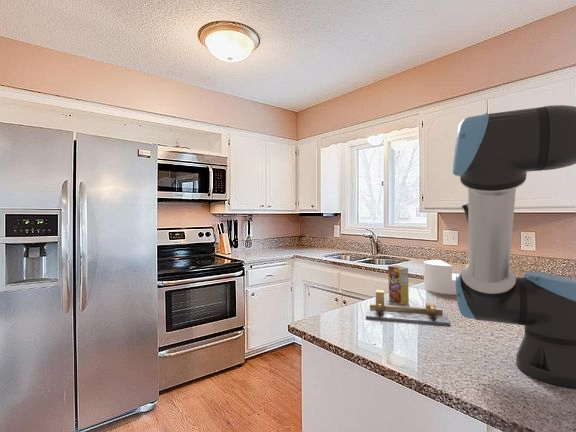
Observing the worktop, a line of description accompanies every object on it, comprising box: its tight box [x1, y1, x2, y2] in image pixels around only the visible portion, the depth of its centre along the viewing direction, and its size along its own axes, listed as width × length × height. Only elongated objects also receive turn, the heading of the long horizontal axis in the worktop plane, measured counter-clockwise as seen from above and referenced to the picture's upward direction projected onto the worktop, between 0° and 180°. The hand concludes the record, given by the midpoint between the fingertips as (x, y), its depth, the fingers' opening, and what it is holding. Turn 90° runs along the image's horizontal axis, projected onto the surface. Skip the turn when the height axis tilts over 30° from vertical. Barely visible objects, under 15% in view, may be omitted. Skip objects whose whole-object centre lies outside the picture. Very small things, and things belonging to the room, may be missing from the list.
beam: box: [369, 302, 444, 317], centre depth 122 cm, size 9×26×4 cm, turn 73°
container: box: [423, 259, 458, 295], centre depth 163 cm, size 20×20×13 cm
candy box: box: [387, 264, 410, 306], centre depth 141 cm, size 9×4×15 cm, turn 17°
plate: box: [365, 309, 451, 327], centre depth 119 cm, size 8×28×1 cm, turn 73°
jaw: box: [375, 289, 385, 313], centre depth 125 cm, size 9×3×8 cm, turn 163°
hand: (483, 255), depth 107 cm, fingers closed
